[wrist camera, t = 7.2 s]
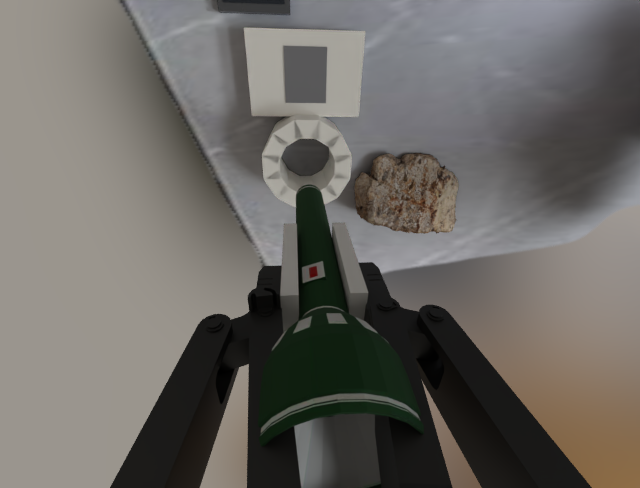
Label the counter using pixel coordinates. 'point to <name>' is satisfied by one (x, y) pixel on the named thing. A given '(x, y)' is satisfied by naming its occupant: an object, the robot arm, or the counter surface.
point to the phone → (255, 6)
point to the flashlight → (331, 370)
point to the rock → (407, 194)
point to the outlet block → (305, 100)
